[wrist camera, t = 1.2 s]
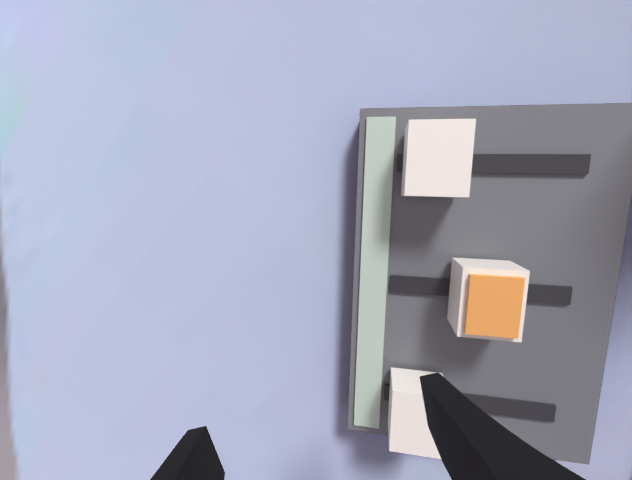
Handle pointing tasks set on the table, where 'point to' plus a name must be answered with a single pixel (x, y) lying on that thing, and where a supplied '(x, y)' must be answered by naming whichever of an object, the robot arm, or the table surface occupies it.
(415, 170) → the lever
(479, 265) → the lever
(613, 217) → the breaker panel
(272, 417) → the table surface
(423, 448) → the lever
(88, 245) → the table surface
